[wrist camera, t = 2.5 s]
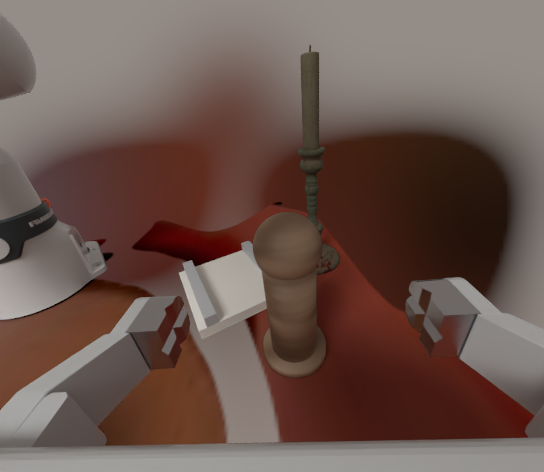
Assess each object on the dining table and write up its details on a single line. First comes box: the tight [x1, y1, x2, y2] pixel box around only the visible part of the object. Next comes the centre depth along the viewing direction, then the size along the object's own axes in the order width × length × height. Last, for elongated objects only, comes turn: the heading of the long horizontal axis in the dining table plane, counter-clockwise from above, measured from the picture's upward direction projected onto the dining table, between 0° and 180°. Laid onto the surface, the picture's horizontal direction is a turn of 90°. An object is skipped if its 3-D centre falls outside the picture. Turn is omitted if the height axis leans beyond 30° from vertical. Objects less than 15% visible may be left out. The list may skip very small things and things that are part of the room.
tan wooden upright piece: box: [253, 212, 326, 378], centre depth 23 cm, size 7×7×16 cm
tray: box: [179, 241, 267, 339], centre depth 37 cm, size 14×14×3 cm
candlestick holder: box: [298, 46, 339, 274], centre depth 35 cm, size 9×9×30 cm
